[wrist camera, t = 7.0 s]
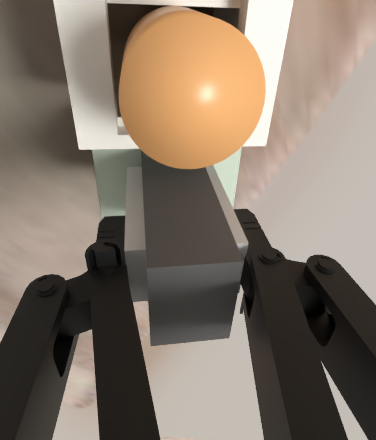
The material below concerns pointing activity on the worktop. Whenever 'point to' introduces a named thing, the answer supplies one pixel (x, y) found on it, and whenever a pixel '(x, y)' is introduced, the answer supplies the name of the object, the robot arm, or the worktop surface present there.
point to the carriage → (180, 242)
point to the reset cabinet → (109, 85)
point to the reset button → (189, 87)
